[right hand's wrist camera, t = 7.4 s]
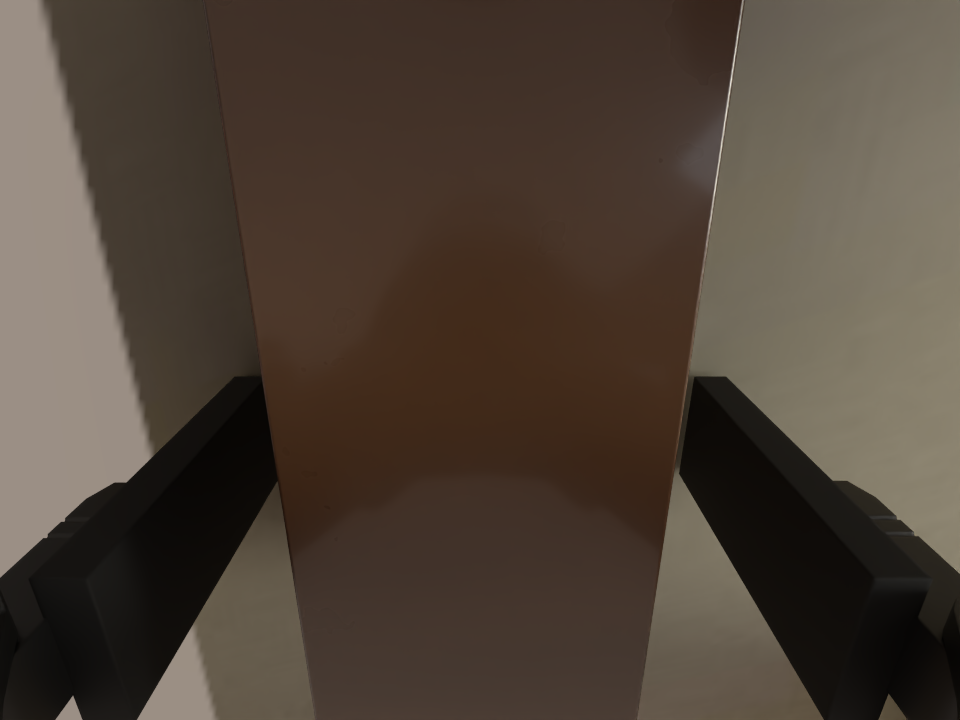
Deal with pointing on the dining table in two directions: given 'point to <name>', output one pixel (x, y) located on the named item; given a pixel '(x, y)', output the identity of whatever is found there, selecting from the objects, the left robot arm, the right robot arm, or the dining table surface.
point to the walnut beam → (474, 329)
